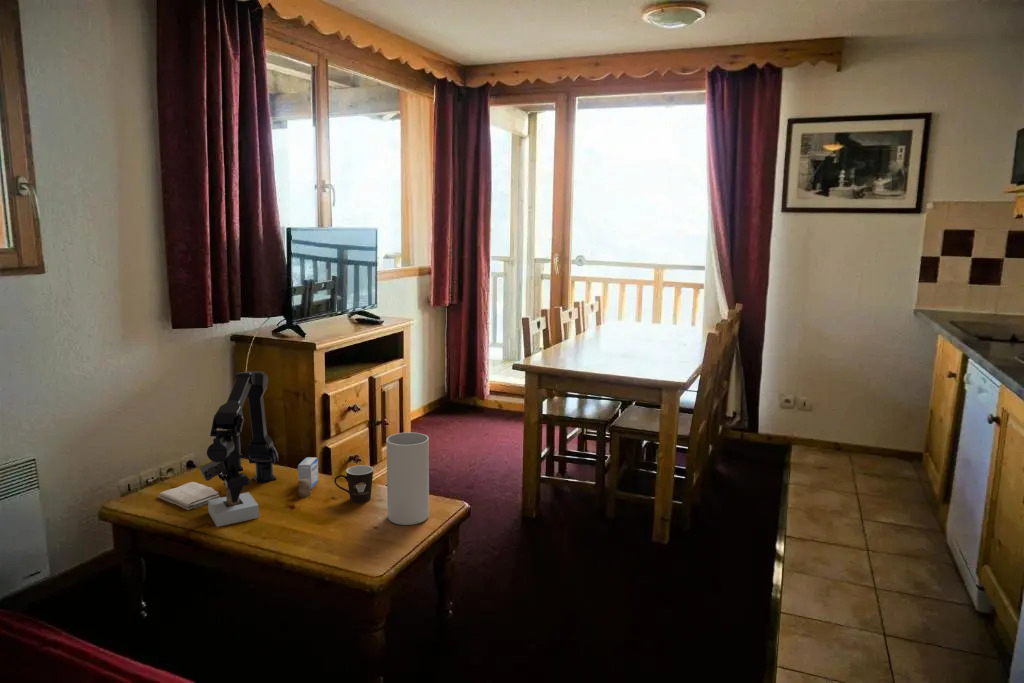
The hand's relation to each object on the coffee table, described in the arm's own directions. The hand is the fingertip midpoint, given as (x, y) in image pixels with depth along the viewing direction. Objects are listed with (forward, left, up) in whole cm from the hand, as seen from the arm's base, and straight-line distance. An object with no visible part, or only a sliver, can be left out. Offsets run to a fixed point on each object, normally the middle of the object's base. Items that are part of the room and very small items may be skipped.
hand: (233, 500), depth 206 cm
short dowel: (-4, +23, -5) cm, 24 cm away
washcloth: (-21, -9, -6) cm, 23 cm away
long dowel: (0, 0, -3) cm, 3 cm away
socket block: (0, 0, -5) cm, 5 cm away
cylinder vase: (+30, +44, -5) cm, 53 cm away
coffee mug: (+8, +36, -5) cm, 37 cm away
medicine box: (-12, +27, -5) cm, 30 cm away
